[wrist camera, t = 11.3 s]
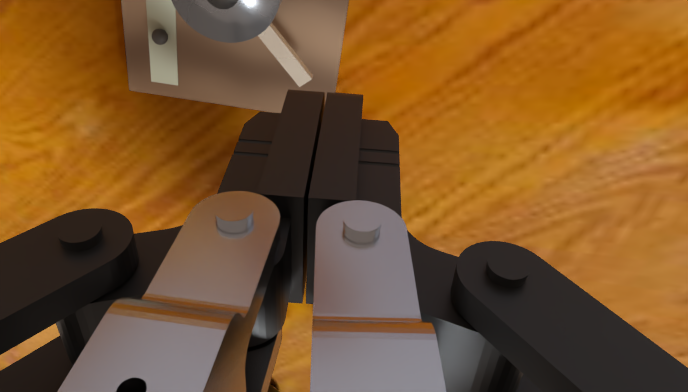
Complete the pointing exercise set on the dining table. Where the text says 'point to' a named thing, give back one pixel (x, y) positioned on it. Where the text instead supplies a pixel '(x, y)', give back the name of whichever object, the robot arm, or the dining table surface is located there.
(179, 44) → the stand
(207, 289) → the robot arm
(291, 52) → the capstan
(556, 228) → the dining table surface
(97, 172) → the dining table surface
